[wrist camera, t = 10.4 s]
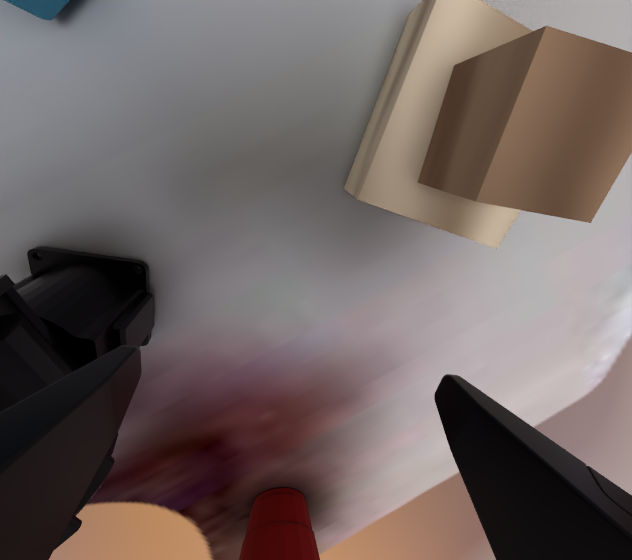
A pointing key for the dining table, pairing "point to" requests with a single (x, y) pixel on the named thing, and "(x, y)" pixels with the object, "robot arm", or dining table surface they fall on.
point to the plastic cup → (279, 528)
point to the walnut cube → (535, 125)
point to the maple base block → (428, 118)
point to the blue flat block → (41, 7)
